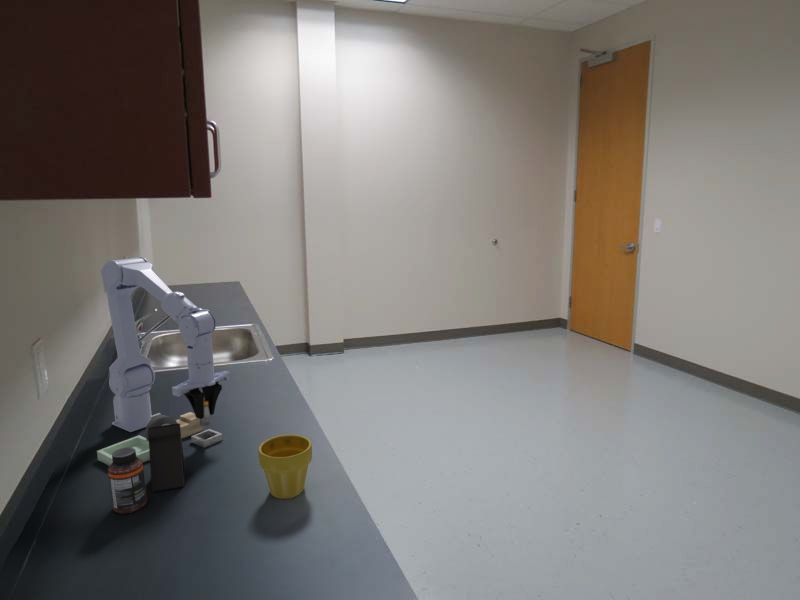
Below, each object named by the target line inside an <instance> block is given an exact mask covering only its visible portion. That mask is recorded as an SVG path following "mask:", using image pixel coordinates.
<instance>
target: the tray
mask: <svg viewBox="0 0 800 600" xmlns="http://www.w3.org/2000/svg"><path fill="white" fill-rule="evenodd" d="M121 448H134V449H135V450H136V457H138V458H140V459H141V460H142V462H143V463H146V462H150V452H149V440H147V439H146V437H144V436H142V435H139V434H138V435H136V436H133V437H130V438H128V439H125V440H122V441H119V442H117V443H114V444H112V445H109V446H106V447H104V448H101V449H99V450H96V454H97V461H99V462H101V463H103V464H105V465H107V466H108V467H109V466H110V464H111V463H112V462H113V460H112V454H113V452H115V451H116V450H118V449H121Z"/></svg>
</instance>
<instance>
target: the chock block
mask: <svg viewBox="0 0 800 600" xmlns="http://www.w3.org/2000/svg"><path fill="white" fill-rule="evenodd" d="M175 420H176V422H177V424H179V423H180V429H181V439H182V440H183V439H184V438H187V437H189V436H190V437H191V436H193V435H195V434H198V433H200V432H203V431H204V426H201V425H200V419H199V418H196V416H195V413H194V412H191V411H190V412H186V413H184V414H181V415H179V419H175Z"/></svg>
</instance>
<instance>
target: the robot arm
mask: <svg viewBox="0 0 800 600" xmlns="http://www.w3.org/2000/svg"><path fill="white" fill-rule="evenodd" d="M100 274H101V280H102V285H103V289H104V293H105V294H106V298H107V305H108V309H109V310H108V311H109V315H110V320H111V327H112V332H113V337H114V343H115V349H116V354H117V358H116V359H115V360H114V362H112V364H111V365H110V366H109V367H108V370H109V378H108V386H109V388H110V390H111V392H112V393H113V394H114V396H113V400H112V402H113V403H112V404H113V410H114V411H113V412H114V421H113V422H111V424H112V425H113V426H115V427H117V428H120V429H122V430H125V431H127V432H129V433H133V432H135V431H138V430H141V429H144V428H146V426H147V424H148V423H149V421H150V416H152V405H151V395H150V390H151V389H152V385H153V384H154V383H155V381H156V373H155V370H154V369H153V366H152V364H151V359H150V358H149V357H147V356H145V355H143V354H141V348H140V342H139V336H138V331H137V324H136V319H135V313H134V308H133V303H132V302H133V301H132V293H134V292H135V290H136V289H137V288H138V287H141V288H143V289H144V290H145V291H146V292H148V293H149V294H150V295H151V296H153V297H155V298H156V299H157V300H158V301H160V302H161V303H160V304H161V305H160V306H161V307H160V308H161V309H162V311H163V312H164V313H166V314H167V315H168V316H169V317H170V318H171V319H172V320H173V321H174V322H176V324H178V330H179V332H180V333H179V334H181V336H182V339H183V343H184V345H185V346H186V347H185V348H186V356H187V368H188V379H187V380H185V381H184V382H181V383H180V384H177V385H175V386H172V387H171V390H172V396H174V397H178V398H179V397H181V396H182V395H184V396H185V397H186V399H187V401H188V402H189V403H190V406H191V408H192V410H193V413H194V414H195V416H196V418H199V419H202V418H203V416H204V412H203V400H204V399H209V406H210V416H213V415H214V414H215V411H216V410H215V408H216V405H217V401H218V397H219V395H220V393H221V391H222V389H223V386H222V384H219V383H220V382H224V381H229V380H231V372H230V371H228V370H223V371H220V372H219V371H218V372H215V365H214V353H213V339H212V338H213V337H212V333H213V332H214V331H215V330H216V328H217V321H216V317H215V316H214V314H213V313H212V312H211V310H209V309H207V308H206V309H203V308H201V307H197V305H196V304H194V303H193V302H192V301H191V300H190V299H188V298H187V297H186V294H184V293H183V292H180V291H172V290H171V289H170V288H169V287H168V285H167V283H165V282H164V281H163V280H162V279H161V278H160V277H159V276H158V275H157V274H156V273H155V272H154V266H153V263H151V262H149V260H148V259H147V258H145V256H137V257H133V258H125V259H124V258H123V259H116V260H114V259H112V260H111V259H110V260H107V261H105V263H104V264H103V266H102V267H101V269H100ZM200 389H201V390H202V391H201V390H200Z"/></svg>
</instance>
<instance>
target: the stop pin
mask: <svg viewBox="0 0 800 600" xmlns="http://www.w3.org/2000/svg"><path fill="white" fill-rule="evenodd" d="M203 412H204V416H203V418H202V419H200V425H201V426H203V427H205V426H206V427H208V426H210V425H212V421H211V415H210V406H209V399H205V398H204V400H203Z"/></svg>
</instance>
